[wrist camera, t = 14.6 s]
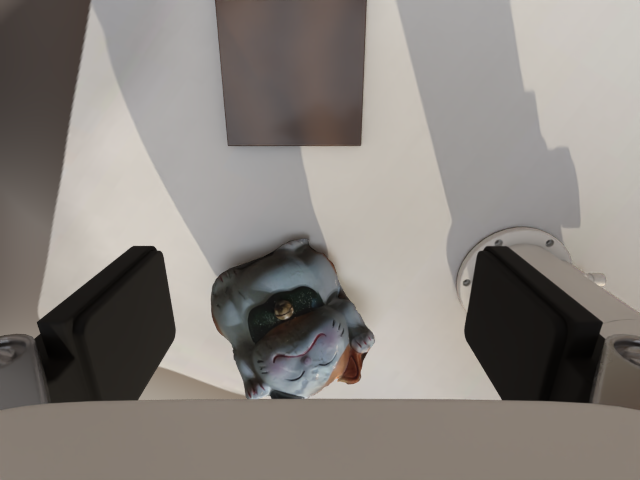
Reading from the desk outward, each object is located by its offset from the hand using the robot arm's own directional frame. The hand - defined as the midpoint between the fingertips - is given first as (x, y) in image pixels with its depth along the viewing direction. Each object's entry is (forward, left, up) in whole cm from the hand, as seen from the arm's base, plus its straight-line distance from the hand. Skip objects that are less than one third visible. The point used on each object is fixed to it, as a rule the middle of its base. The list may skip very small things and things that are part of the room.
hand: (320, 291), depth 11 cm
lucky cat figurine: (+3, +16, -28) cm, 33 cm away
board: (+3, -12, -28) cm, 31 cm away
